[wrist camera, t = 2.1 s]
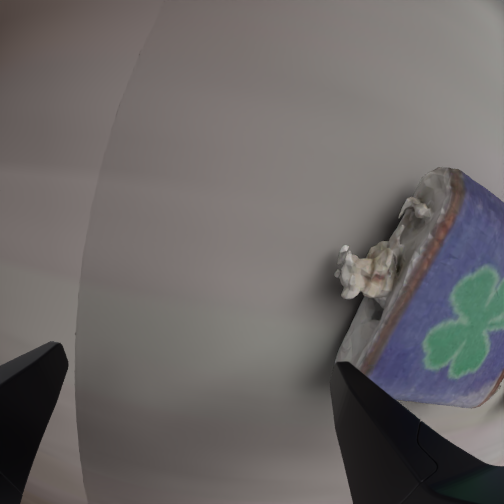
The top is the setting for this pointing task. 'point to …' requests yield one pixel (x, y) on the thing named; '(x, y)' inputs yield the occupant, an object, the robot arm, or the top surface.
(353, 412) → the robot arm
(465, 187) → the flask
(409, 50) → the top surface
